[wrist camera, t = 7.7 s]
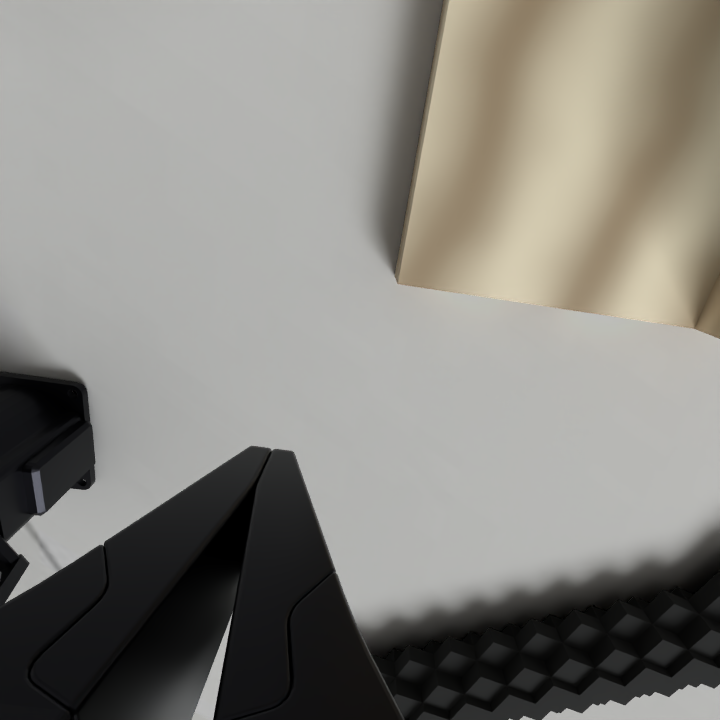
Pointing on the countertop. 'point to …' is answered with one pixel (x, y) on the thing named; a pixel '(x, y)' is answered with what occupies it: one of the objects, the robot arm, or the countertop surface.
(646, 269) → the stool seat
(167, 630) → the robot arm
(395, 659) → the black segmented strip
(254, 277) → the countertop surface
